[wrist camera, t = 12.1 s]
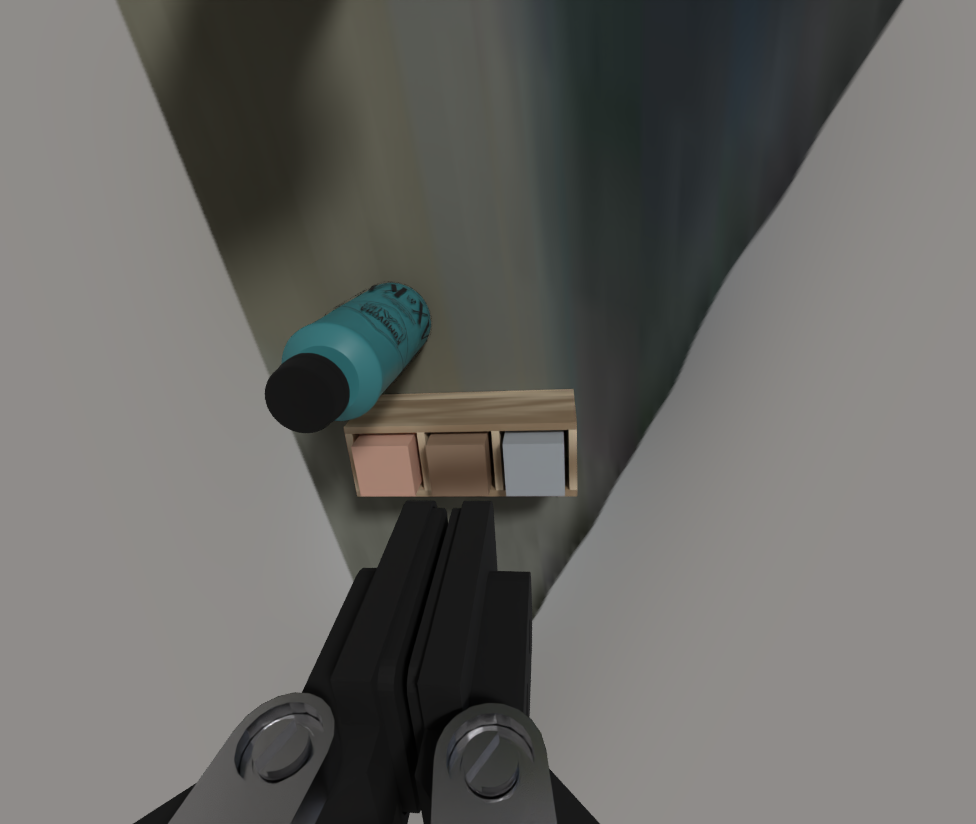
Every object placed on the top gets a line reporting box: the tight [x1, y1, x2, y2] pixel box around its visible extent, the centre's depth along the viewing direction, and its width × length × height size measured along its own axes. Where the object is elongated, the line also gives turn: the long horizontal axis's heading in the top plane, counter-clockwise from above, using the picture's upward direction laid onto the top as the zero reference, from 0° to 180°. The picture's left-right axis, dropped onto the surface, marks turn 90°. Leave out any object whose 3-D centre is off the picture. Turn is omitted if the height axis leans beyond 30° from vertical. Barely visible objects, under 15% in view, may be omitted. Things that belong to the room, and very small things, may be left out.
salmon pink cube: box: [351, 433, 423, 496], centre depth 44 cm, size 5×5×5 cm
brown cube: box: [425, 431, 494, 496], centre depth 44 cm, size 5×5×5 cm
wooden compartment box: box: [344, 389, 577, 497], centre depth 46 cm, size 7×19×7 cm, turn 94°
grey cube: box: [503, 430, 565, 496], centre depth 43 cm, size 5×5×5 cm
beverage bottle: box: [265, 281, 432, 433], centre depth 36 cm, size 6×7×20 cm
